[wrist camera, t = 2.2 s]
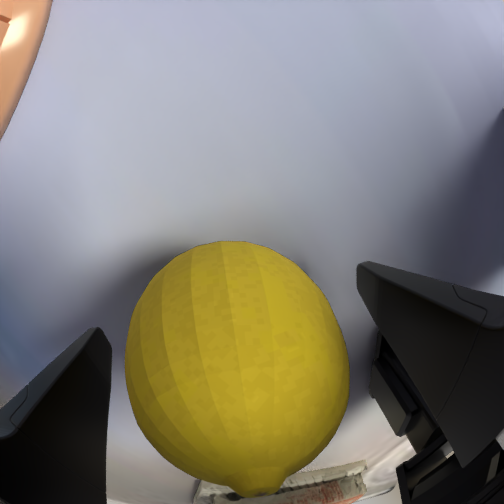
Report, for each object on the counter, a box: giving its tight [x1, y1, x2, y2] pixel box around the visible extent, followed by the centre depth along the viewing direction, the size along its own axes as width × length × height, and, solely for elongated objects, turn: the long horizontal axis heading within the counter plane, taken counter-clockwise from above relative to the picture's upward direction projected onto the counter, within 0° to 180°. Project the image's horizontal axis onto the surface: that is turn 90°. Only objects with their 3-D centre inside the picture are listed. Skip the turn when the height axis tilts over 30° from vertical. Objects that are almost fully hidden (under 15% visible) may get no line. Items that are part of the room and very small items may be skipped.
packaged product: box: [193, 460, 367, 504], centre depth 21 cm, size 18×5×10 cm
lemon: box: [125, 241, 350, 498], centre depth 7 cm, size 6×6×8 cm
